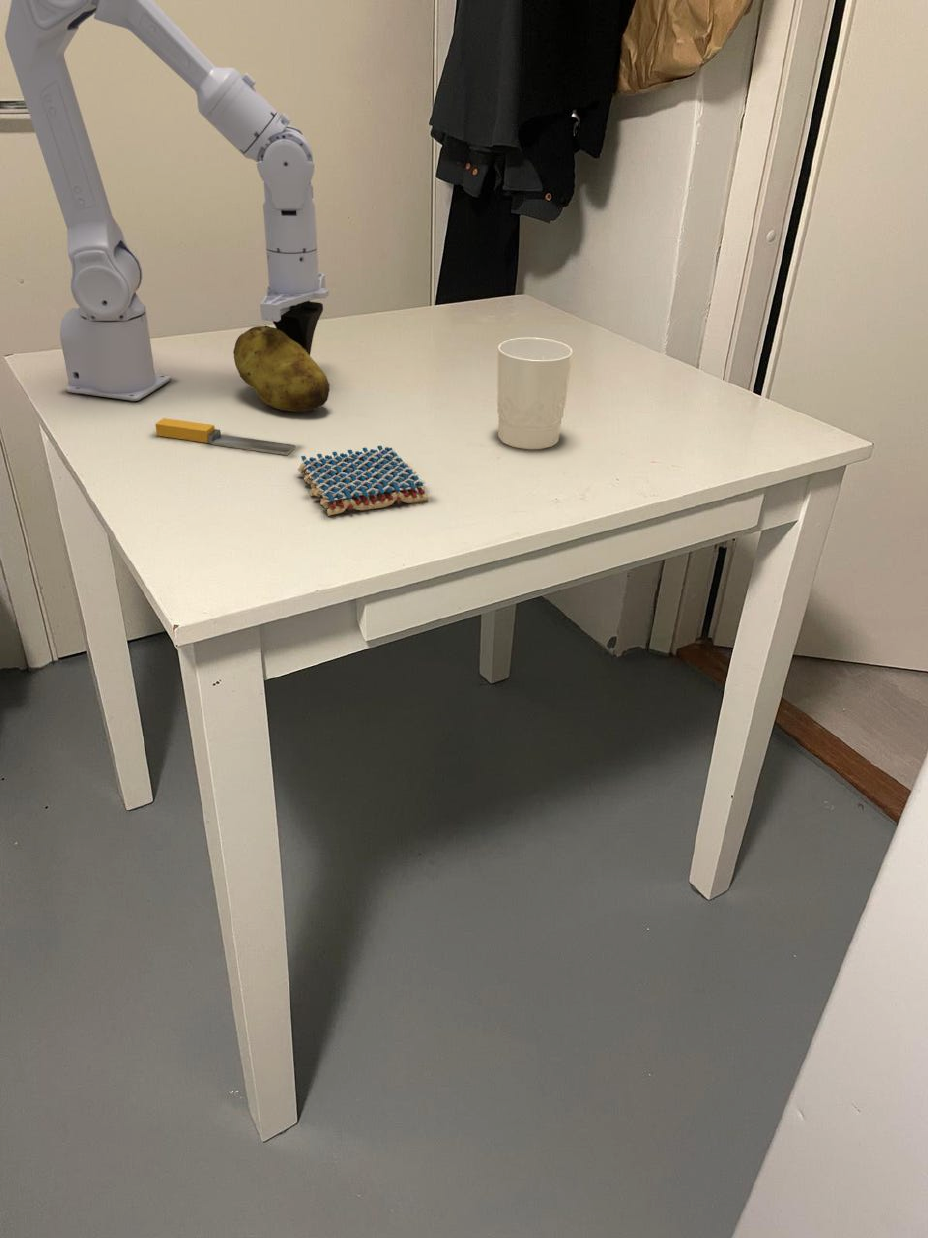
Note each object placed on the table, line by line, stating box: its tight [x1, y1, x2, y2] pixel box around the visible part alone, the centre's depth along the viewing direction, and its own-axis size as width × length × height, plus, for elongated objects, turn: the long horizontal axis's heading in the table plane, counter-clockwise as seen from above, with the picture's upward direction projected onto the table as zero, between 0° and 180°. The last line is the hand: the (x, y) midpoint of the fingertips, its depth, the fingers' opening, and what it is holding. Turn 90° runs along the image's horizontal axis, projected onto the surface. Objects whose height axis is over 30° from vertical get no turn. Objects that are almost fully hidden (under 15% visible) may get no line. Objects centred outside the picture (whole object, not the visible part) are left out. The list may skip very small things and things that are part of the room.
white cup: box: [496, 337, 574, 450], centre depth 103 cm, size 8×8×10 cm
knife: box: [155, 417, 296, 456], centre depth 102 cm, size 15×2×1 cm, turn 75°
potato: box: [232, 325, 331, 413], centre depth 110 cm, size 8×13×8 cm, turn 30°
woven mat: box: [297, 445, 430, 516], centre depth 93 cm, size 10×11×2 cm
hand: (299, 365), depth 116 cm, fingers closed
